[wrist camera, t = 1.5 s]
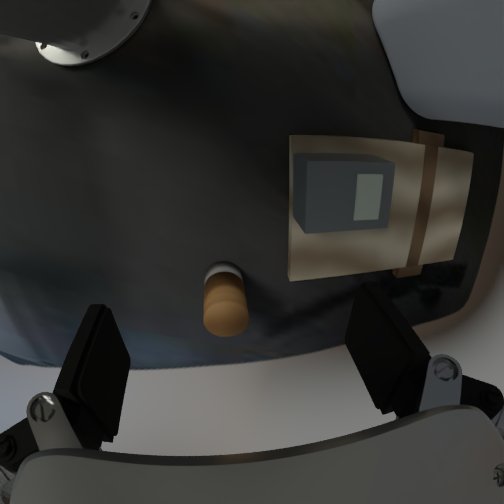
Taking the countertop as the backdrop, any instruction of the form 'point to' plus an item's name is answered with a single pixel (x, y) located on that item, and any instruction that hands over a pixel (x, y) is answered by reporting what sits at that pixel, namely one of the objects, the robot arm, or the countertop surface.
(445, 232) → the board
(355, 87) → the countertop surface
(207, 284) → the orange brown cylinder
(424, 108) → the plastic bottle
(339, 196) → the block
